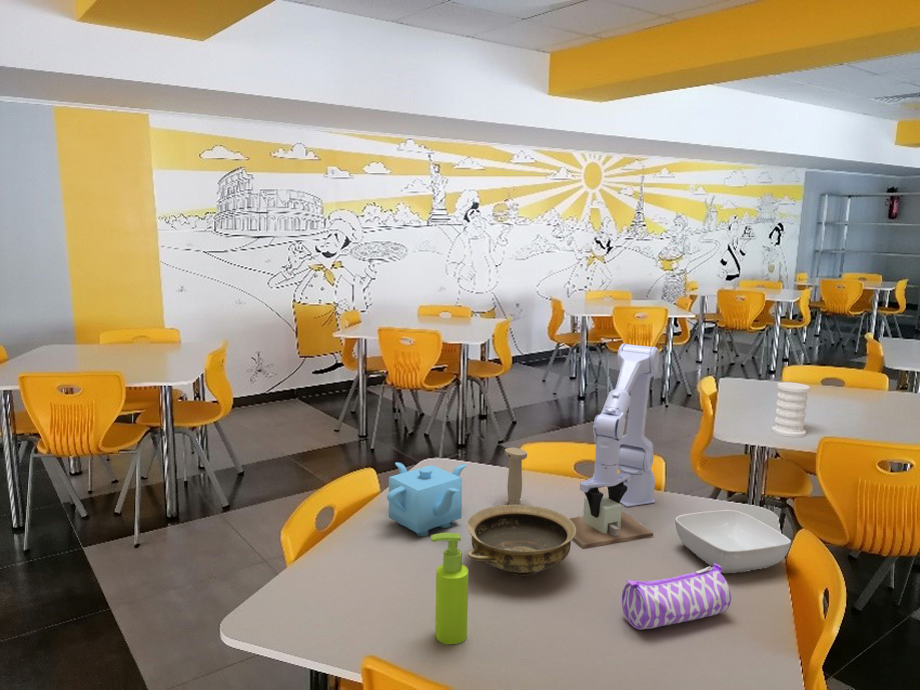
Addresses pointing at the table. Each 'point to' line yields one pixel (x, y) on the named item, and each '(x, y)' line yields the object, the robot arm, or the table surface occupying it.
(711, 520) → the square bowl
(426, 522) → the teakettle
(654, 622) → the pencil case
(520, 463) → the handle
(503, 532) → the ceramic bowl
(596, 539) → the cleat board
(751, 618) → the table surface
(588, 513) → the cabinet block
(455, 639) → the soap dispenser
